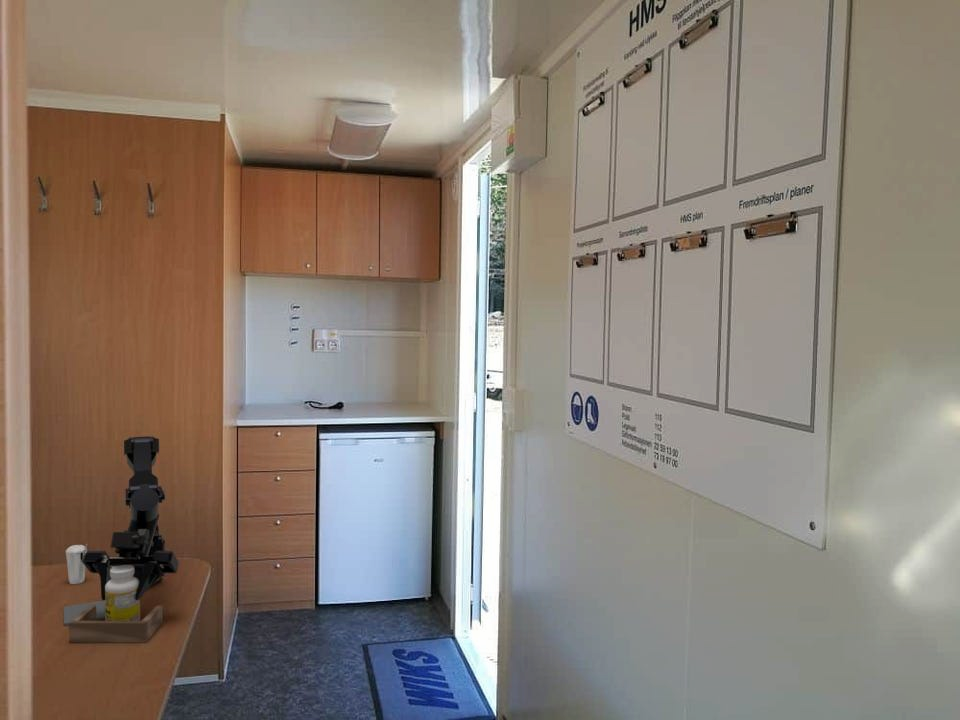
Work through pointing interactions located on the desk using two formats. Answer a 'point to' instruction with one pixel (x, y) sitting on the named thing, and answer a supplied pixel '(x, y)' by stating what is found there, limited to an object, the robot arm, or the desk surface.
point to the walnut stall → (113, 627)
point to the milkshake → (76, 563)
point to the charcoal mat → (76, 610)
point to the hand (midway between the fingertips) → (119, 599)
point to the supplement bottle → (122, 595)
